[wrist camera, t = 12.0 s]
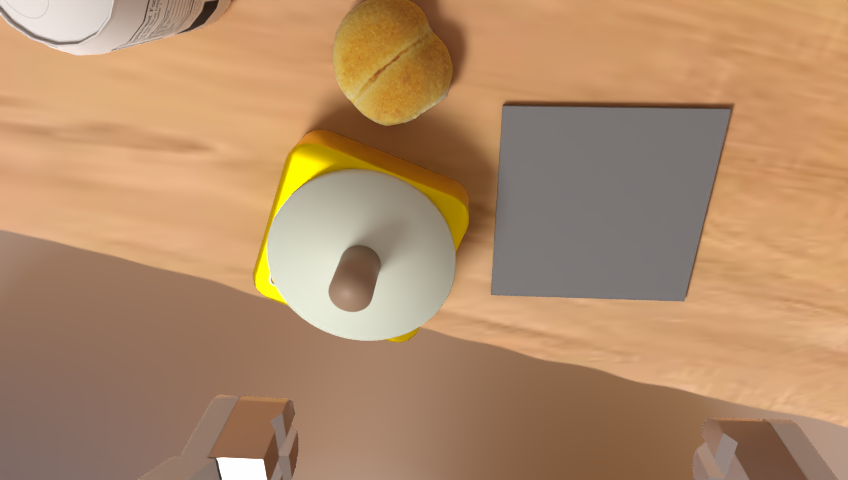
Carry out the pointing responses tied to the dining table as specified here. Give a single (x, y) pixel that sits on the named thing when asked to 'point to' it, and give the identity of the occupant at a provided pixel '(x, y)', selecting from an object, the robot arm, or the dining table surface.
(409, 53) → the bread roll
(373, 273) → the lid
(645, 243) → the mat
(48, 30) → the supplement can
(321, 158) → the element tile
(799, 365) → the dining table surface
